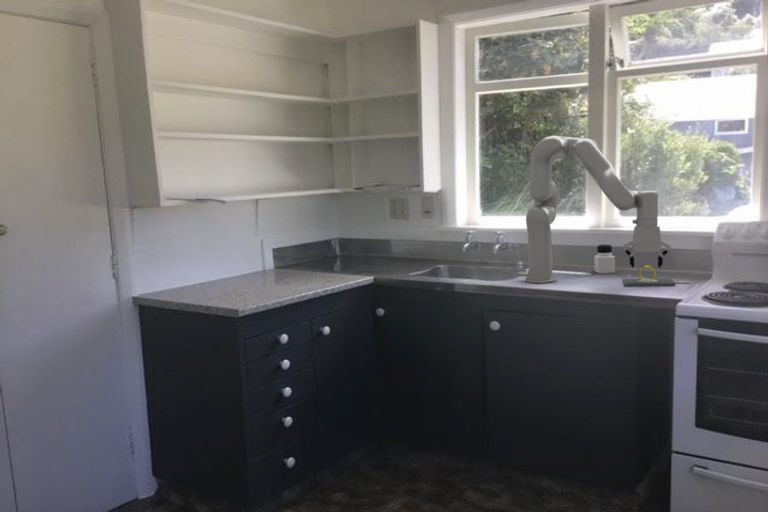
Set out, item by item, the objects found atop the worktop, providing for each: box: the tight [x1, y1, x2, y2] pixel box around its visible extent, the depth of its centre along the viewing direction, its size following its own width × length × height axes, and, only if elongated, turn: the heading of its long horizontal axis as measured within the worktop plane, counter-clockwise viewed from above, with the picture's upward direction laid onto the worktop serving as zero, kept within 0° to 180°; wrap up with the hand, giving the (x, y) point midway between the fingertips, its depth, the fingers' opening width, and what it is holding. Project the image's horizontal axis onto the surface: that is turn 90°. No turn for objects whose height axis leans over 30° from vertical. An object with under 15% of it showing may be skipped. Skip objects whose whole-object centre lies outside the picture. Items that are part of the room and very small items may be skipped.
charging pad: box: [622, 277, 692, 287], centre depth 264 cm, size 24×12×1 cm, turn 74°
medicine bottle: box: [593, 244, 616, 275], centre depth 297 cm, size 7×7×12 cm
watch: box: [638, 265, 657, 281], centre depth 264 cm, size 6×3×6 cm, turn 60°
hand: (645, 267), depth 264 cm, fingers open, 9 cm apart
